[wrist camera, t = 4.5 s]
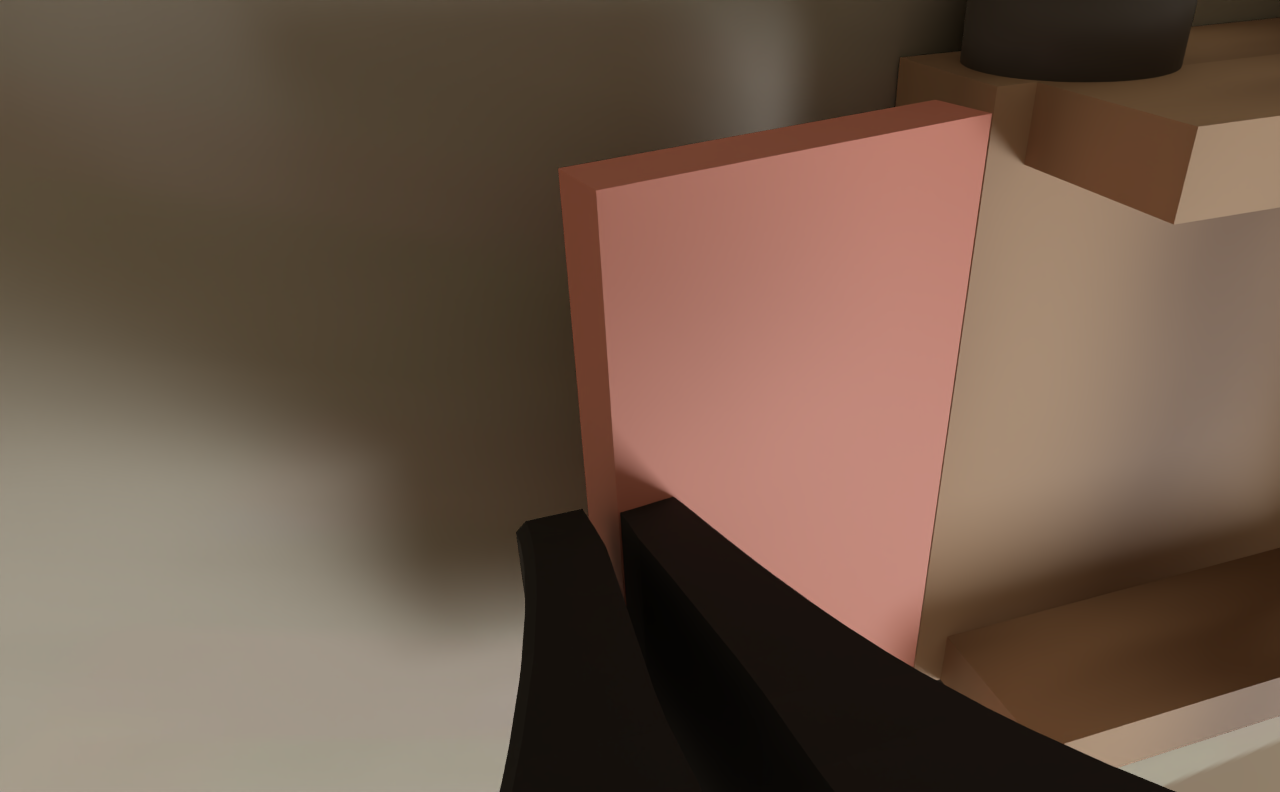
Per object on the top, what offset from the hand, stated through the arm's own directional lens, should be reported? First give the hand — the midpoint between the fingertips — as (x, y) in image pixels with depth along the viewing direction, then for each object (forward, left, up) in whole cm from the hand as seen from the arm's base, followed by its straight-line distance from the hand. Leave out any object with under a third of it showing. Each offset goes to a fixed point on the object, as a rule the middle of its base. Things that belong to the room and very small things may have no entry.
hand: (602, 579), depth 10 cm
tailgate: (-5, 0, -1) cm, 5 cm away
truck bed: (-9, 0, -3) cm, 10 cm away
